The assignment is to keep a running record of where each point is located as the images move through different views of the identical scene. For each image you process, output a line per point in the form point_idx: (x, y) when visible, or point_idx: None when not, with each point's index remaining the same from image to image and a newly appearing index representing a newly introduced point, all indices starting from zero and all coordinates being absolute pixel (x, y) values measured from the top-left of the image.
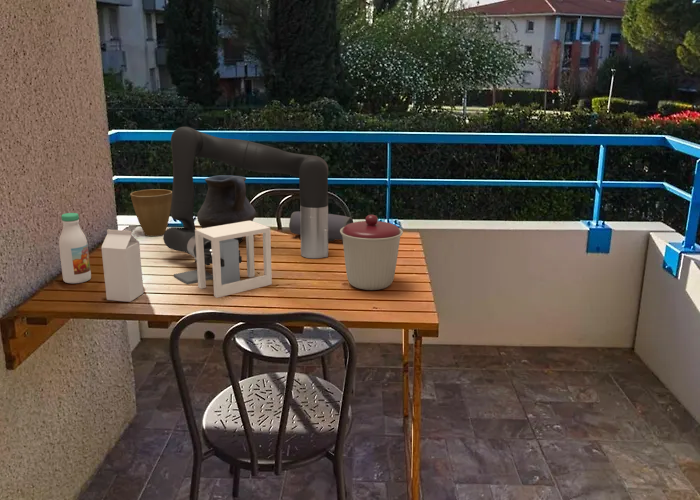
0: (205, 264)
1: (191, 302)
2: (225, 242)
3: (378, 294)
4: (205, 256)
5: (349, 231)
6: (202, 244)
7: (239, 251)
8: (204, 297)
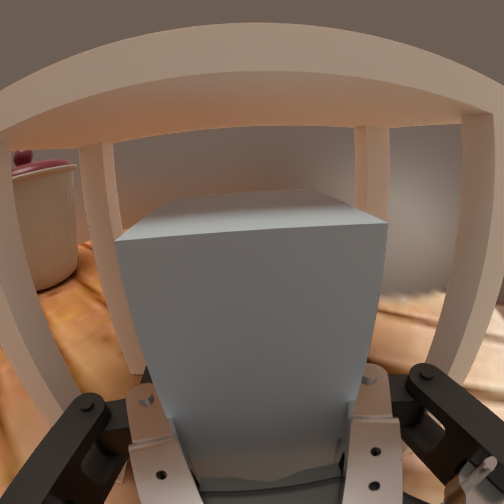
0: (424, 419)
1: (433, 334)
2: (288, 191)
3: (81, 261)
4: (445, 387)
5: (57, 161)
6: (466, 200)
7: (89, 395)
8: (399, 354)
